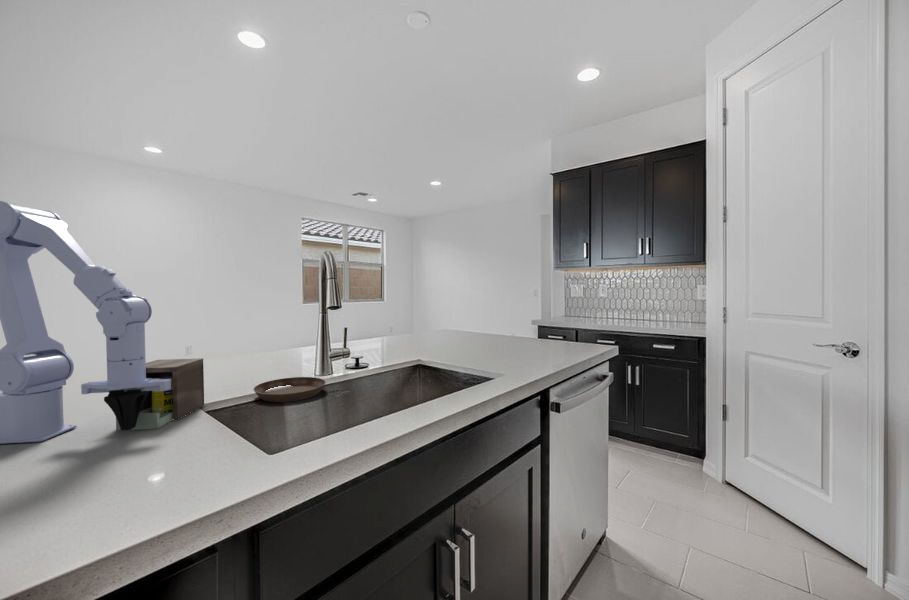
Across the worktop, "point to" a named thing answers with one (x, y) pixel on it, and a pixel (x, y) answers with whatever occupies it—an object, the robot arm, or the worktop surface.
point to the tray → (150, 420)
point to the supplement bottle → (163, 399)
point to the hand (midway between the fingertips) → (128, 428)
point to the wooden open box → (179, 383)
